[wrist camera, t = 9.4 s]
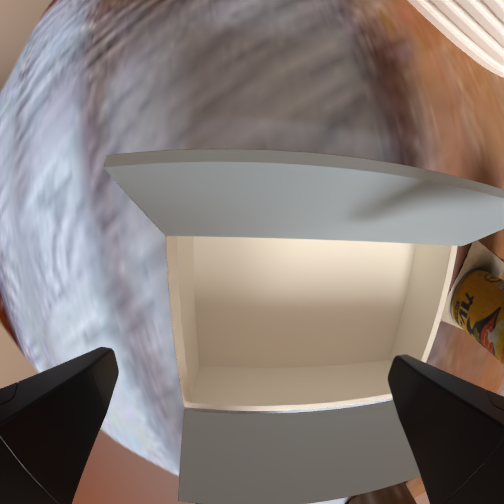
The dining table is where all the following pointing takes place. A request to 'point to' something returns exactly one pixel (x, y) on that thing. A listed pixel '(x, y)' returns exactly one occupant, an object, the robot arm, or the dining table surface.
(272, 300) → the carton
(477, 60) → the plate stack
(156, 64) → the dining table surface
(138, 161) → the flap
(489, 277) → the condiment
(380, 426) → the flap
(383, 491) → the plant pot
